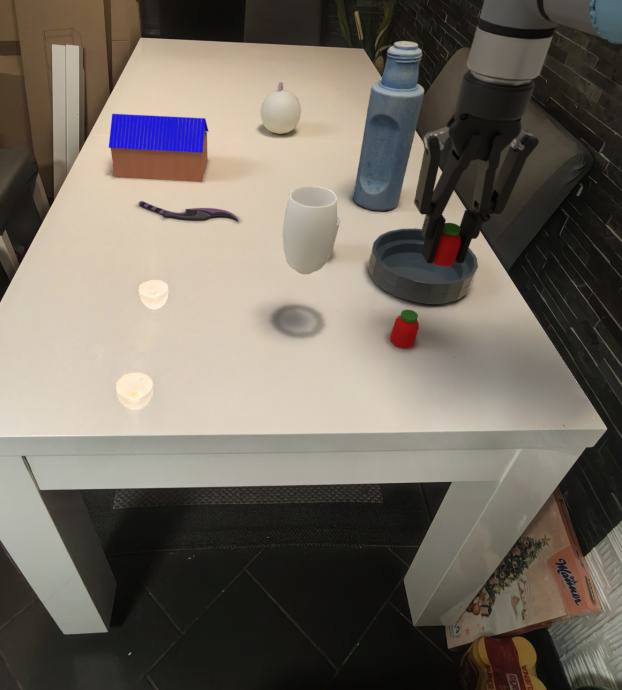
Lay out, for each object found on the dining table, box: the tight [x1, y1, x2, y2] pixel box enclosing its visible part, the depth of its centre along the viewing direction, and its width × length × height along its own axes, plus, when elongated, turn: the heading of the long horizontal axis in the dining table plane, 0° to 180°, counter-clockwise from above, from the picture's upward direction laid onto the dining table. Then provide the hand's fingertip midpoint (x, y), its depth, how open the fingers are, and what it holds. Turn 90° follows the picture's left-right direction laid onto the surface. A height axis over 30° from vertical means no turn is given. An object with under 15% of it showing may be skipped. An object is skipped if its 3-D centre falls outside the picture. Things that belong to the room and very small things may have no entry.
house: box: [108, 113, 209, 183], centre depth 121 cm, size 12×20×12 cm, turn 87°
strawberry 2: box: [433, 222, 461, 266], centre depth 74 cm, size 4×4×5 cm
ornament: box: [260, 81, 302, 135], centre depth 140 cm, size 10×10×12 cm
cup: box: [282, 185, 338, 275], centre depth 78 cm, size 7×7×21 cm
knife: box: [138, 200, 239, 222], centre depth 109 cm, size 21×1×5 cm
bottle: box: [352, 40, 425, 212], centre depth 106 cm, size 10×10×30 cm
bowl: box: [367, 228, 479, 305], centre depth 93 cm, size 17×17×4 cm
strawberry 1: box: [389, 309, 420, 350], centre depth 80 cm, size 4×4×5 cm
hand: (442, 257), depth 75 cm, fingers closed on strawberry 2, 4 cm apart
